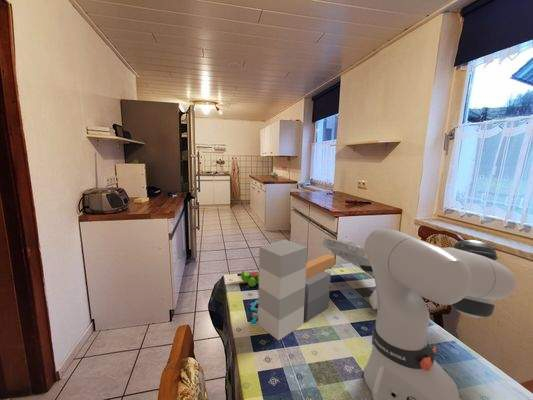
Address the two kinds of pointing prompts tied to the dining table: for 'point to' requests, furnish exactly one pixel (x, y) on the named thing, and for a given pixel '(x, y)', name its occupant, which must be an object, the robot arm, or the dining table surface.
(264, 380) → the dining table surface
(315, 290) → the grey box
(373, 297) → the bust
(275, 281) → the tall tower
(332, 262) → the orange block
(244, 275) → the toy crocodile
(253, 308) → the gear mechanism
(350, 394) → the dining table surface
